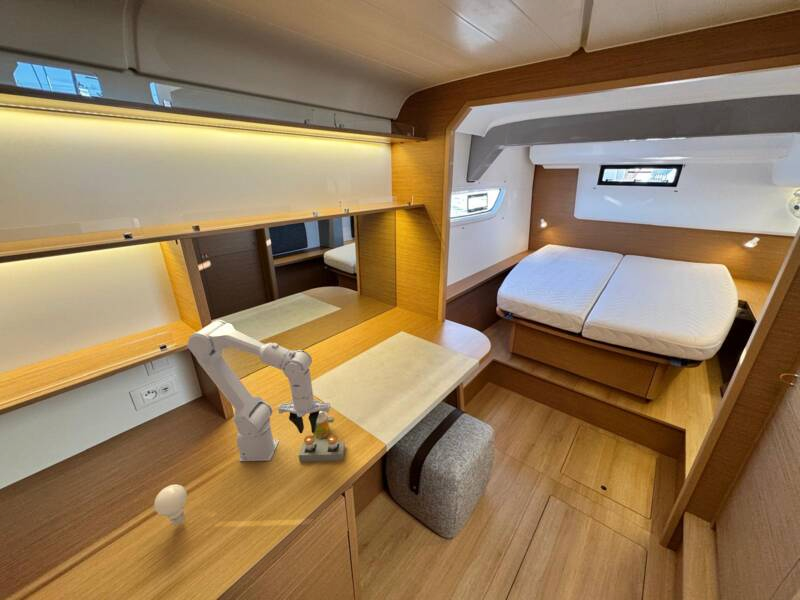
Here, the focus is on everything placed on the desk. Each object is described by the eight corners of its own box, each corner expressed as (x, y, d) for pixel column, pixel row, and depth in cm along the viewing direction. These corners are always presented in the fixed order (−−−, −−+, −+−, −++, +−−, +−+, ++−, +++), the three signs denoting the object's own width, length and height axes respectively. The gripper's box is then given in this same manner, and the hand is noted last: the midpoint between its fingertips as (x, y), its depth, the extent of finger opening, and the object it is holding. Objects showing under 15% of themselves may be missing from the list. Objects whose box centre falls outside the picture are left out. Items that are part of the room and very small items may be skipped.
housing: (299, 461, 95) (298, 455, 94) (313, 420, 111) (312, 415, 111) (342, 460, 95) (341, 454, 94) (350, 420, 112) (349, 414, 111)
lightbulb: (199, 509, 81) (188, 477, 78) (184, 534, 76) (172, 502, 72) (174, 510, 81) (162, 478, 78) (157, 536, 75) (143, 503, 72)
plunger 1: (304, 453, 95) (302, 443, 94) (307, 446, 98) (305, 435, 97) (314, 453, 95) (312, 442, 94) (316, 445, 98) (315, 435, 97)
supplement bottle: (313, 440, 103) (309, 416, 99) (312, 429, 108) (309, 406, 104) (330, 437, 104) (327, 413, 101) (328, 426, 109) (326, 402, 106)
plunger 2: (327, 453, 95) (326, 442, 94) (329, 445, 98) (328, 434, 97) (337, 452, 95) (336, 442, 94) (339, 445, 98) (338, 434, 97)
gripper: (271, 402, 86) (279, 441, 90) (324, 401, 86) (329, 440, 90) (280, 386, 92) (287, 424, 97) (329, 385, 92) (334, 422, 97)
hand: (308, 430), depth 94 cm, fingers open, 3 cm apart
